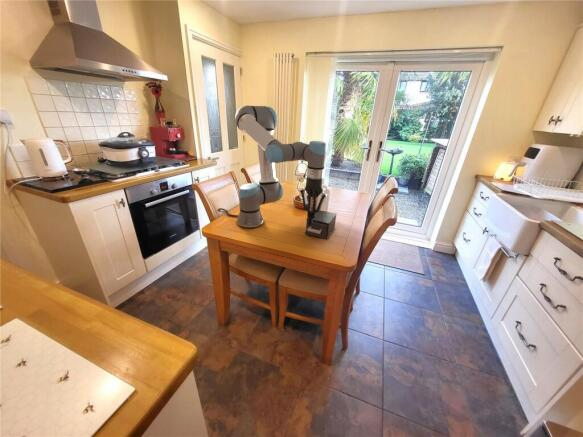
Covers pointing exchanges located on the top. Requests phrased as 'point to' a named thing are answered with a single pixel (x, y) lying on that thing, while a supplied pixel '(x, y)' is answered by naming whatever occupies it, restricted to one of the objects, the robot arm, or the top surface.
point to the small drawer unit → (326, 220)
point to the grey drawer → (316, 229)
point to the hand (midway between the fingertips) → (310, 223)
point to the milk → (326, 199)
